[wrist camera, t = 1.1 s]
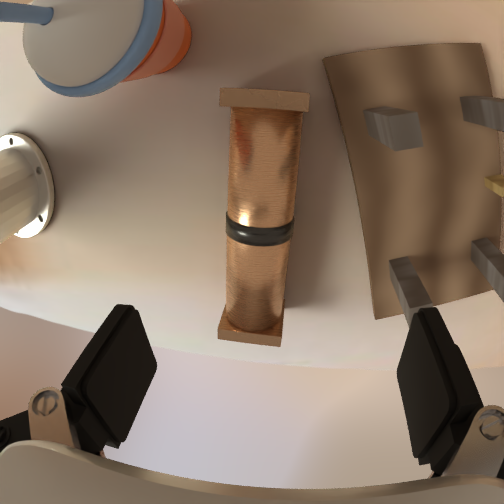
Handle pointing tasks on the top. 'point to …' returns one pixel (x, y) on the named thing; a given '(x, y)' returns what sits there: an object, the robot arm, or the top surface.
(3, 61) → the top surface
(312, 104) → the top surface
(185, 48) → the cup with straw
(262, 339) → the copper tube
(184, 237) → the top surface
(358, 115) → the collar board
